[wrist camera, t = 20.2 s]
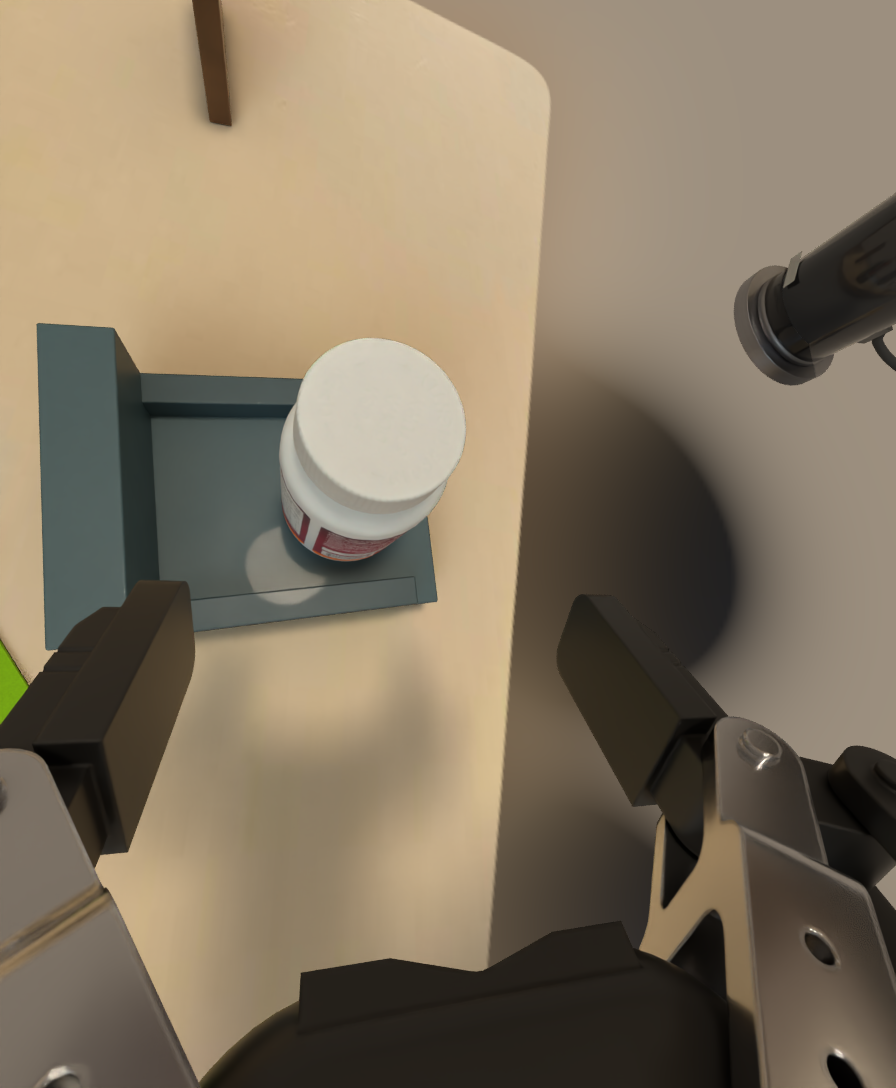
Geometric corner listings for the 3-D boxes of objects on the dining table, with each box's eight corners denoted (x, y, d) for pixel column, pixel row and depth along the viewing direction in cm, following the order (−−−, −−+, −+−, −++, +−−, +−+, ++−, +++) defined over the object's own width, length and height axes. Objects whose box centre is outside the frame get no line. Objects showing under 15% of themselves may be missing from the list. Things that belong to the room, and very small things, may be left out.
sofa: (400, 416, 30) (440, 347, 22) (422, 603, 28) (473, 597, 21) (110, 412, 25) (35, 321, 17) (120, 641, 23) (44, 651, 16)
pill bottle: (424, 501, 26) (520, 420, 16) (350, 588, 24) (402, 563, 14) (336, 422, 25) (375, 280, 15) (252, 506, 23) (227, 412, 13)
